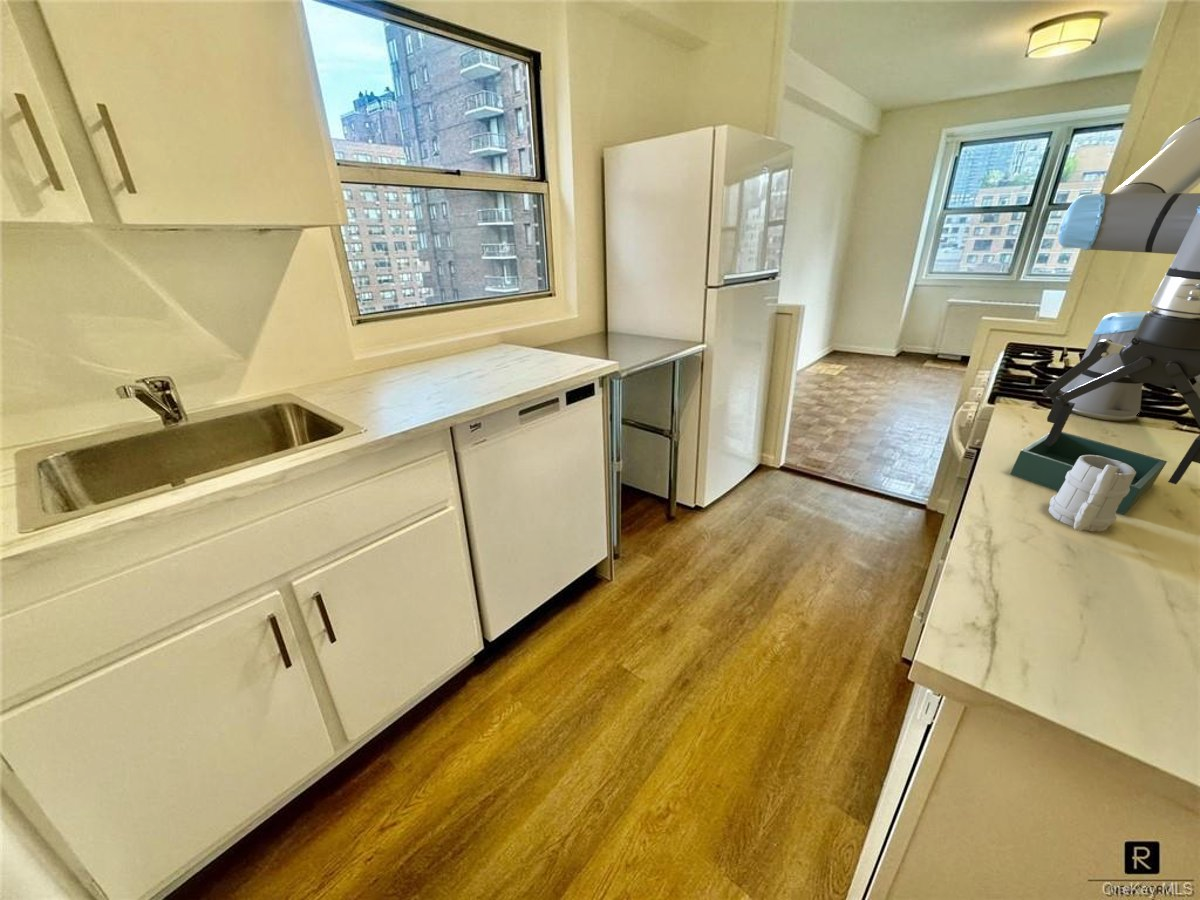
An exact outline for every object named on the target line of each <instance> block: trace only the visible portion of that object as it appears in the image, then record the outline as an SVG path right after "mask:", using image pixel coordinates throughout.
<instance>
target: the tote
mask: <svg viewBox="0 0 1200 900" xmlns="http://www.w3.org/2000/svg"><path fill="white" fill-rule="evenodd" d="M1048 435H1049V433H1047V434H1045V435H1044V436H1042V437H1041V438H1039V439H1037V440H1035V441H1034V442H1033V443H1031V444H1029V445H1026V446H1025V447H1024V448H1023V449H1021V450H1020V451H1019V454H1018V456H1017V457H1016V460H1015V463H1014V464H1013V467H1012V469H1011V471H1010V473H1009V475H1011V476H1014V477H1017V478H1020V479H1022V480H1025V481H1027V482H1030V483H1034V484H1037V485H1039V486H1041V487H1044V488H1047V489H1050V490H1053V491H1056V492H1057V493H1058V492H1059V490H1060V488H1061V487H1062V485H1063V483H1064V482H1065V480H1066V479H1065V476H1066V474H1067V472H1068V471H1070V470H1072V468H1073V467H1074V465H1075V463H1076V462H1077V460H1078V458H1079V457H1080V456H1082V455H1095V456H1102V457H1106V458H1109V459H1113V460H1117V461H1121V462H1122V463H1125V464H1128V465H1129V466H1131V467H1132V468H1133V469H1134V470H1135V471H1136V475H1135V477H1134V478H1133V480H1132V482H1131V484H1130V486H1129V488H1130V491H1129V493H1128V494H1127V495H1126V496H1125V497H1123V499H1122V501H1121V503H1120V505H1118V509H1117V511H1116V513H1117V514H1120V515H1123V516H1125V515H1126V514H1127V513H1128V512H1129V511H1130V510H1131V509H1132V508H1133V507H1134V505H1136V503H1138V501H1139V500H1140V499H1141V498H1142V497H1143V496H1144V495H1145V494H1146V493H1147V492H1148V491H1149V490H1150V489H1151V487H1153V485H1154V484H1155V482H1156V481H1157V479H1158V477H1159V476H1160V475H1161V472H1162V471H1163V469H1164V468H1165V466H1166V465H1167V463H1168V461H1167V460H1165V459H1161V458H1157V457H1154V456H1150V455H1146V454H1144V453H1140V452H1136V451H1132V450H1129V449H1125V448H1122V447H1118V446H1115V445H1112V444H1108V443H1105V442H1101V441H1097V440H1093V439H1090V438H1087V437H1083V436H1079V435H1076V434H1072V433H1069V432H1066V431H1062V432H1061V434H1060V436H1059V438H1058V440H1057V442H1055V443H1054V444H1052V445H1051V446H1048V445H1045V444H1044V443H1045V441H1046V439H1047V437H1048Z"/></svg>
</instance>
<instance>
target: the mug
mask: <svg viewBox="0 0 1200 900" xmlns="http://www.w3.org/2000/svg"><path fill="white" fill-rule="evenodd" d="M1135 475H1136V471H1135V470H1134V469H1133V468H1132V467H1131V466H1129V465H1128V464H1125V463H1122V462H1121V461H1117V460H1113V459H1109V458H1106V457H1102V456H1095V455H1082V456H1080V457H1079V458H1078V460H1077V462H1076V463H1075V465H1074V467H1073V468H1072V470H1070V471H1068V472H1067V474H1066V476H1065V479H1066V480H1065V482H1064V483H1063V485H1062V487H1061V488H1060V490H1059V492H1058V491H1057V494H1054V495H1052V497H1051V498H1050V500H1049V508H1048V513H1049V514H1050V515H1051V516H1052V517H1053V518H1054V519H1055V520H1058V521H1059V522H1061V523H1063V524H1065V525H1067V526H1070V527H1073V529H1074V530H1076V531H1079V532H1080V531H1081V532H1082V531H1087V532H1088V531H1089V532H1104V531H1106V530H1107V529H1108V527H1109V526H1112V525H1113V524H1114V523H1115V522H1116V519H1117V515H1116V513H1117V512H1116V511H1117V509H1118V505H1120V503H1121V501H1122V499H1123V497H1125V496H1126V495H1127V494H1128V493H1129V491H1130V488H1129V486H1130V484H1131V482H1132V480H1133V478H1134V477H1135Z"/></svg>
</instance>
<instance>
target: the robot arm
mask: <svg viewBox="0 0 1200 900" xmlns="http://www.w3.org/2000/svg"><path fill="white" fill-rule="evenodd" d="M1199 184H1200V115H1198V116H1197V117H1195V118H1192V119H1191V120H1190V121H1188V122H1187V123H1185V124H1183V125H1182V126H1181V127H1180V128H1178V129H1177V130H1176V131H1174V132H1173V133H1172V134H1171V135H1170V136H1168V138H1167V139H1166V140H1165V141H1164V143H1163V144H1162V146H1160V149H1159V151H1158V153H1157V154H1156V155H1155V156H1154V157H1153V158H1151V159H1150V160H1149V161H1148V162H1147V163H1145V164H1144V165H1143V166H1142V167H1140V169H1138V170H1137V171H1135V173H1133V174H1132V175H1131V176H1130V177H1128V178H1127V179H1126V180H1125V181H1123V182H1122V183H1121V184H1120V185H1119V186H1117V187H1116V188H1115V189H1114V190H1113V191H1112V192H1109V193H1106V192H1099V193H1085V194H1081V195H1080V196H1078V197H1076V198H1075V199H1074V200H1073V202H1072V203H1070V206H1069V207H1068V208H1067V210H1066V212H1065V214H1064V216H1063V218H1062V221H1061V224H1060V226H1059V230H1058V236H1057V240H1058V243H1059V245H1061V246H1062V247H1063V248H1071V249H1072V248H1073V249H1082V250H1084V251H1106V252H1107V251H1108V252H1109V251H1110V252H1129V253H1149V254H1150V253H1151V254H1162V255H1163V254H1164V255H1175V257H1174V258H1173V259H1172V262H1171V264H1170V266H1169V268H1168V269H1167V271H1166V273H1165V275H1164V277H1163V279H1162V280H1161V282H1160V284H1159V285H1158V288H1157V289H1156V292H1155V293H1154V296H1153V298H1151V301H1150V303H1149V304H1150V306H1151V307H1152V308H1153V309H1151V310H1148V311H1121V312H1119V311H1118V312H1112V313H1109V314H1107V315H1104V317H1103V318H1101V320H1100V322H1099V324H1098V325H1097V327H1096V329H1095V331H1093V332H1092V337H1091V339H1090V341H1089V343H1088V345H1087V347H1086V350H1085V352H1084V354H1083V356H1082V357H1081V360H1080V361H1079V362H1078V363H1077V364H1075V365H1074V366H1073V367H1072V368H1070V369H1069V370H1068V371H1066V372H1065V373H1064V374H1063V375H1061V376H1060V377H1058V378H1057V379H1056V380H1055V381H1053V382H1052V383H1051V384H1049V385H1048V386H1047V387H1045V388H1044V389H1043V390H1042V392H1041V394H1042V395H1043V396H1044V397H1047V398H1050V399H1051V403H1052V407H1051V409H1050V411H1049V413H1048V415H1047V417H1046V422H1047V423H1051V424H1053V425H1052V427H1051V429H1050V431H1049V433H1048V434H1049V435H1048V437H1047V439H1046V441H1045V443H1044V444H1045V445H1048V446H1051V445H1052V444H1054V443H1055V442H1057V440H1058V438H1059V436H1060V434H1061V432H1063V430H1064V428H1065V426H1066V424H1067V421H1068V419H1069V417H1070V415H1071V413H1072V414H1074V415H1079V416H1083V417H1085V418H1091V419H1095V420H1100V421H1101V420H1102V421H1111V422H1133V421H1136V419H1137V418H1138V416H1137V417H1135V416H1136V415H1137V414H1138V413H1139V414H1140V412H1141V406H1142V393H1143V385H1144V384H1151V385H1153V386H1156V387H1160V388H1164V389H1166V388H1172V387H1175V388H1176V390H1177V392H1178V393H1179V395H1181V397H1182V398H1183V400H1184V401H1185V404H1186V405H1187V407H1188V409H1189V410H1190V413H1191V414H1192V417H1193V418H1194V419H1195V422H1196V423H1197V425H1198V427H1199V428H1200V192H1192V191H1193V190H1194V189H1195V188H1196V187H1197V186H1198V185H1199ZM1139 414H1138V415H1139ZM1192 463H1196V464H1200V434H1198V436H1197V437H1196V438H1195V439H1193V442H1192V443H1191V445H1190V447H1189V448H1188V449H1187V451H1186V453H1185V454H1184V456H1183V458H1182V460H1181V461H1180V462H1179V464H1178V465H1177V467H1176V469H1175V470H1174V472H1173V473H1172V475H1171V477H1170V478H1169V480H1168V481H1167V483H1169V484H1173V485H1177V484H1178V483H1179V482H1180V481H1181V479H1182V478H1183V477H1184V474H1185V473H1186V472H1187V470H1188V468H1189V467H1190V465H1191V464H1192Z"/></svg>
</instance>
